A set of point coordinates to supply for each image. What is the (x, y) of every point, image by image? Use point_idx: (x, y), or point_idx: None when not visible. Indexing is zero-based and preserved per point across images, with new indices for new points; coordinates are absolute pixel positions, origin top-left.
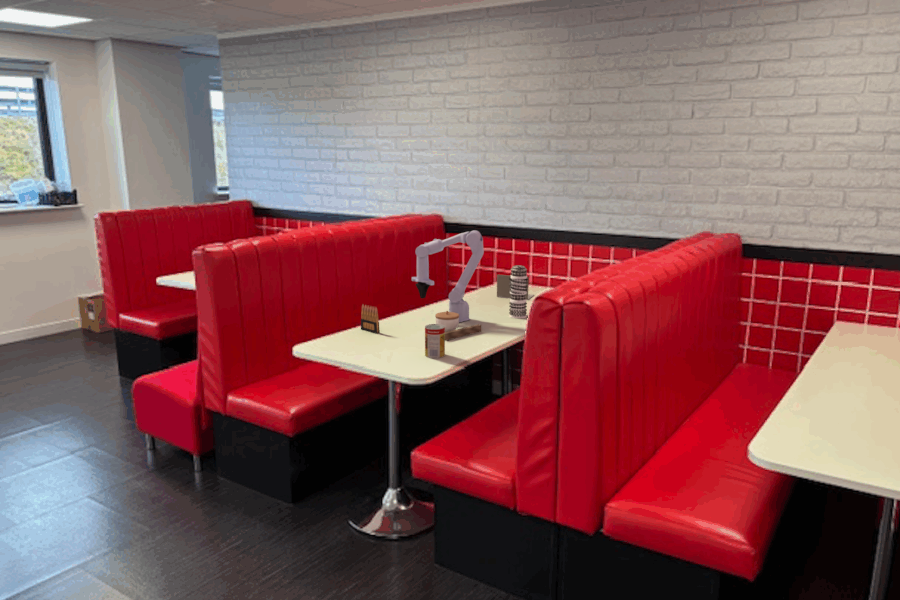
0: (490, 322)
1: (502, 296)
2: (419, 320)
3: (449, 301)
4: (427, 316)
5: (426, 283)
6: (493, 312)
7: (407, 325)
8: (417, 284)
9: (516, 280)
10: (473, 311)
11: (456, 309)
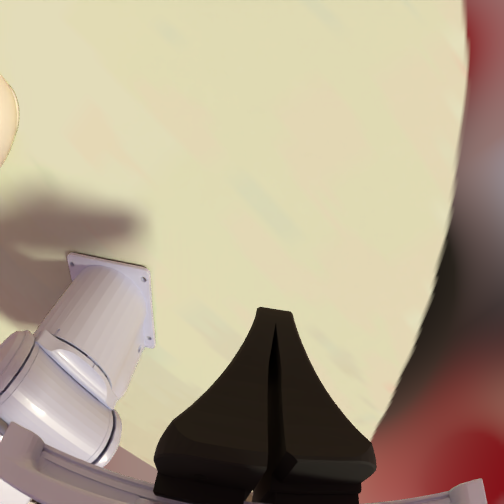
0: (32, 330)
1: (250, 495)
2: (270, 169)
3: (78, 358)
4: (297, 278)
5: (140, 488)
6: (138, 421)
7: (237, 8)
8: (308, 461)
9: None
10: None
11: (48, 313)
